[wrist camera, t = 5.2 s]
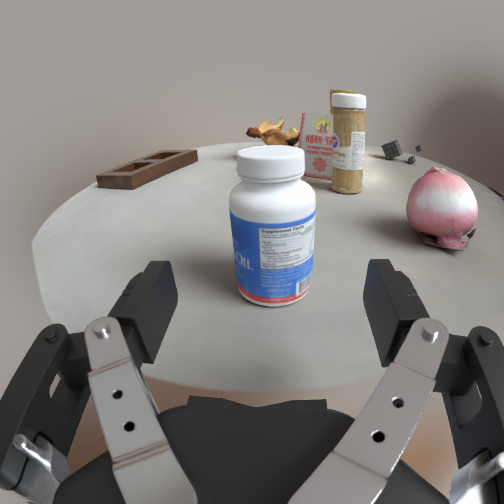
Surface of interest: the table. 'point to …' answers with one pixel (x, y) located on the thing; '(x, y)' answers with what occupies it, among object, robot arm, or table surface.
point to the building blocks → (396, 151)
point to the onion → (442, 209)
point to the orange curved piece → (274, 134)
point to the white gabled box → (317, 144)
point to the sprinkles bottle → (348, 142)
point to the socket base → (146, 169)
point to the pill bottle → (272, 225)
